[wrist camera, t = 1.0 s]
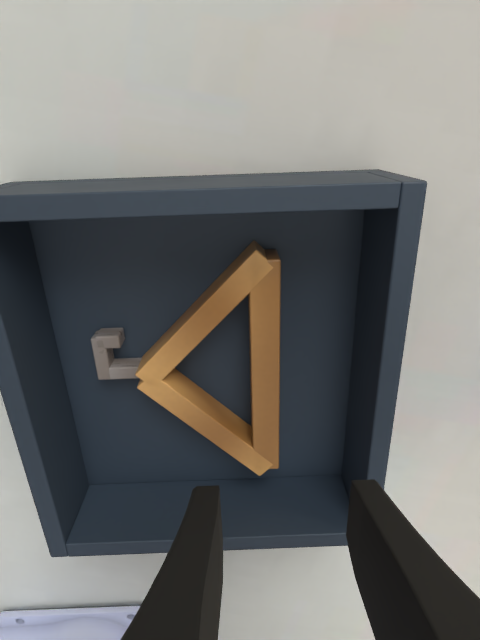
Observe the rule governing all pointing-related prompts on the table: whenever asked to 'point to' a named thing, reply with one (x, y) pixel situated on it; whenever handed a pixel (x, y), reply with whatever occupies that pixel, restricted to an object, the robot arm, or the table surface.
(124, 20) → the table surface
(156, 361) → the hanger
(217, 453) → the basket
